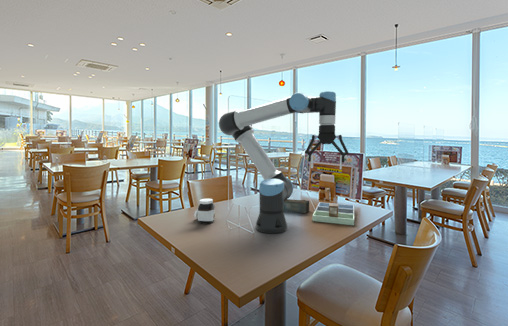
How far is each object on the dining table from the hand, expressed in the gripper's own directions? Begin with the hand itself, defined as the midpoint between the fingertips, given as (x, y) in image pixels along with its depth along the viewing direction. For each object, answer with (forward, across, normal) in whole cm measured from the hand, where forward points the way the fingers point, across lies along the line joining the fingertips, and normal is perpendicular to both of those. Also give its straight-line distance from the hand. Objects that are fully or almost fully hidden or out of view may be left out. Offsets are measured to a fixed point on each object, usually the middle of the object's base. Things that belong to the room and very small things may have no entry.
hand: (325, 168), depth 131 cm
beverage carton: (+29, +21, -23) cm, 43 cm away
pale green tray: (+29, -4, -10) cm, 31 cm away
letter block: (+29, -4, -10) cm, 31 cm away
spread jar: (+29, +61, +13) cm, 69 cm away
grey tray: (+29, -4, -30) cm, 42 cm away
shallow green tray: (+29, -4, -20) cm, 35 cm away
